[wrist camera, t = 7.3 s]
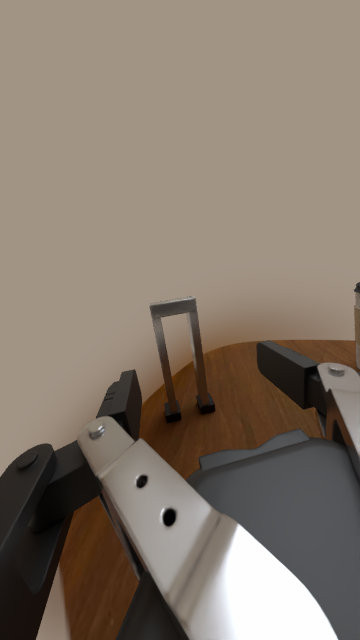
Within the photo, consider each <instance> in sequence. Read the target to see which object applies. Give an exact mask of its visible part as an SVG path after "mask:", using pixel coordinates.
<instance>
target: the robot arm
mask: <svg viewBox="0 0 360 640" xmlns="http://www.w3.org/2000/svg"><path fill="white" fill-rule="evenodd" d="M257 364H258V368H259V371H260V372H261V374H262V375H264V376H265V377H266V378H267V379H268V380H270V381H271V382H272V383H273V384H274V385H275V386H277V387H278V388H279V389H280V390H281V391H282V392H284V393H285V394H286V395H287V396H288V397H289V398H291V399H292V400H293V401H294V402H295V403H296V404H298V405H299V406H300V407H301V408H302V409H303V410H304V409H308V408H311V407H315V408H316V418H317V422H318V426H319V430H320V434H321V438H322V439H321V438H313V437H308V436H307V435H306V434H305V433H304V432H303V431H302V430H301V429H300V428H299V429H296V430H292V431H289V432H285V433H282V434H278V435H276V436H274V437H273V438H271V439H270V440H268V441H267V442H265V443H264V444H262V445H261V446H259V447H258V448H256V449H242V450H222V451H219V452H215V453H212V454H208V455H205V456H201V457H198V458H199V464H200V468H199V469H198V470H196V471H195V472H194V473H193V474H192V475H190V476H189V478H188V479H187V480H186V481H185V480H184V479H183V478H182V477H181V476H180V475H179V474H178V473H177V472H176V471H175V470H174V469H173V468H172V467H171V466H170V465H169V464H168V463H167V462H166V461H164V460H163V459H162V458H161V457H160V456H159V455H158V454H157V453H156V452H155V451H154V450H153V449H152V448H151V447H150V446H149V445H148V444H147V443H146V442H145V441H144V440H143V439H141V438H139V427H140V417H141V406H142V396H141V390H140V386H139V382H138V378H137V374H136V371H135V369H134V370H129V371H125V372H122V374H121V377H120V380H119V381H117V382H114V383H113V384H112V385H111V386H110V387H109V388H108V390H107V393H106V396H105V397H104V401H103V402H102V405H101V407H100V409H99V412H98V414H97V416H96V419H95V420H93V421H91V422H90V423H89V424H87V425H86V426H85V427H84V428H83V429H82V430H81V432H80V433H79V435H78V439H77V440H76V441H74V442H72V443H71V444H68V445H66V446H64V447H62V448H60V449H58V450H56V451H54V450H53V448H52V445H50V444H40V445H37V446H35V447H33V448H31V449H29V450H27V451H26V452H24V453H23V454H21V455H20V456H19V457H18V458H16V459H15V460H14V461H13V462H12V463H11V464H10V465H9V466H8V468H7V469H6V470H5V472H4V473H3V474H2V476H1V477H0V640H36V637H37V634H38V630H39V627H40V624H41V620H42V617H43V614H44V610H45V607H46V603H47V600H48V597H49V594H50V590H51V587H52V584H53V580H54V576H55V573H56V570H57V567H58V563H59V560H60V557H61V553H62V550H63V547H64V543H65V540H66V537H67V533H68V530H69V527H70V523H71V520H72V516H73V513H74V511H75V510H77V509H78V508H80V507H81V506H83V505H84V504H86V503H88V502H89V501H91V500H92V499H94V498H95V497H97V496H98V497H99V499H100V501H101V503H102V505H103V507H104V509H105V511H106V513H107V515H108V518H109V520H110V522H111V524H112V526H113V528H114V530H115V532H116V534H117V536H118V538H119V540H120V543H121V545H122V547H123V550H124V552H125V554H126V556H127V559H128V561H129V563H130V565H131V568H132V570H133V572H134V574H135V576H136V578H137V580H138V582H139V584H138V587H137V589H136V592H135V594H134V597H133V599H132V601H131V604H130V606H129V609H128V611H127V613H126V616H125V618H124V621H123V623H122V626H121V628H120V630H119V633H118V635H117V638H116V640H360V372H356V371H355V370H354V369H352V368H350V367H348V366H345V365H342V364H337V363H322V364H320V363H317V362H315V361H313V360H311V359H309V358H307V357H305V356H303V355H301V354H299V353H297V352H295V351H293V350H291V349H289V348H286V347H282V346H280V345H278V344H276V343H274V342H272V341H270V340H269V341H264V342H259V343H257ZM138 438H139V439H138Z"/></svg>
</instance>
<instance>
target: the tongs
mask: <svg viewBox="0 0 360 640" xmlns="http://www.w3.org/2000/svg"><path fill="white" fill-rule="evenodd" d="M150 311H151V316H152V321H153V327H154V332H155V337H156V341H157V347H158V352H159V357H160V362H161V367H162V372H163V377H164V382H165V387H166V392H167V397H168V403H165V414H166V420H167V423H169V422H173V421H177V420H181V413H180V408H179V403H178V400H176V398H175V393H174V388H173V382H172V377H171V372H170V366H169V360H168V355H167V350H166V344H165V339H164V333H163V328H162V323H161V317H166V316H171V315H177V314H182V313H186V314H187V321H188V328H189V335H190V342H191V349H192V355H193V363H194V369H195V376H196V383H197V390H198V395H197V396H196V398H197V403H198V406H199V409H200V411H201V414H205V413H209V412H213V411H215V404H214V402H213V400H212V398H211V396H210V394H209V393H208V391H207V383H206V375H205V367H204V360H203V352H202V345H201V337H200V329H199V321H198V314H197V306H196V298H194V297H192V296H189V297H183V298H177V299H172V300H166V301H160V302H154V303H150Z"/></svg>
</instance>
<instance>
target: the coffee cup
mask: <svg viewBox="0 0 360 640" xmlns="http://www.w3.org/2000/svg"><path fill="white" fill-rule="evenodd" d="M356 286H357V287H356V289H355V290H354V291H355V292H356V305H355V306H354V315H355V342H356V365H357V367H358V368H359V369H360V282H359V283H357V284H356Z"/></svg>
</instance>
